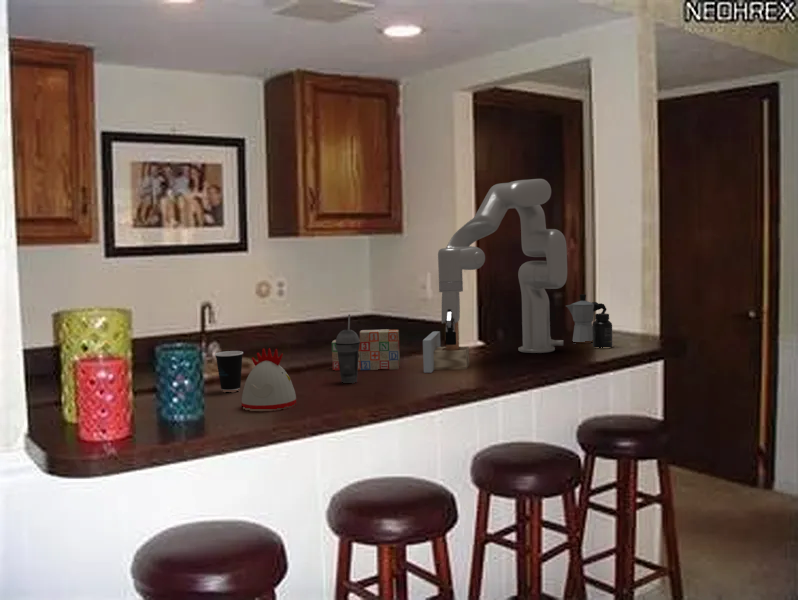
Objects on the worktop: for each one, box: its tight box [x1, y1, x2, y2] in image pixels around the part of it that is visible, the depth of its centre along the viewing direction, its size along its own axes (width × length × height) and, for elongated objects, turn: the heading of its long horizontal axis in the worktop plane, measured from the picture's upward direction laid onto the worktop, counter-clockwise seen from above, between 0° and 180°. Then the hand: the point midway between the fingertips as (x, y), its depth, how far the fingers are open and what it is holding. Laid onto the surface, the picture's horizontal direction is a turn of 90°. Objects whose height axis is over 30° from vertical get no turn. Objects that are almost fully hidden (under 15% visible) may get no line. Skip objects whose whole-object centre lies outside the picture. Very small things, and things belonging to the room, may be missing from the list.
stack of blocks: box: [331, 328, 401, 371], centre depth 267 cm, size 21×6×12 cm, turn 87°
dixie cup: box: [214, 350, 244, 391], centre depth 235 cm, size 8×8×11 cm
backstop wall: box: [422, 330, 441, 374], centre depth 266 cm, size 2×22×10 cm, turn 170°
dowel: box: [445, 321, 460, 350], centre depth 264 cm, size 4×4×14 cm
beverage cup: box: [335, 314, 360, 384], centre depth 243 cm, size 7×7×20 cm
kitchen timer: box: [241, 347, 297, 409], centre depth 213 cm, size 14×14×15 cm
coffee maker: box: [565, 294, 607, 342], centre depth 309 cm, size 15×9×18 cm, turn 80°
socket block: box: [433, 346, 470, 371], centre depth 265 cm, size 10×10×6 cm
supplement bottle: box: [592, 312, 613, 348], centre depth 295 cm, size 7×7×12 cm
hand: (452, 342), depth 264 cm, fingers open, 7 cm apart
